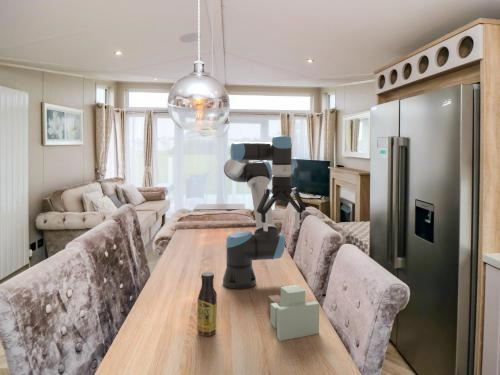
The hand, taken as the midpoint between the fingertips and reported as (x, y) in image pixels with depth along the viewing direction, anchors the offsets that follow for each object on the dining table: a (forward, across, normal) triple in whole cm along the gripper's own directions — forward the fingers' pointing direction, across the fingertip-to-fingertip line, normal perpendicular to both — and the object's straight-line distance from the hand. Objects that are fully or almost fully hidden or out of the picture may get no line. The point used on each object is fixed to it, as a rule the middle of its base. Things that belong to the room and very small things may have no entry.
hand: (281, 229), depth 140 cm
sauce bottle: (+29, -34, -16) cm, 47 cm away
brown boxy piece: (+29, -7, -14) cm, 33 cm away
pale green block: (+29, -7, -24) cm, 38 cm away
